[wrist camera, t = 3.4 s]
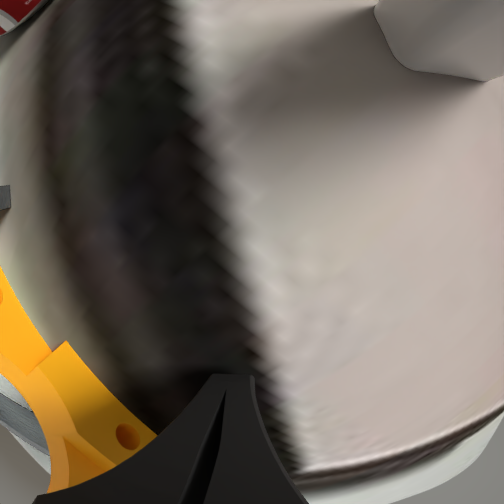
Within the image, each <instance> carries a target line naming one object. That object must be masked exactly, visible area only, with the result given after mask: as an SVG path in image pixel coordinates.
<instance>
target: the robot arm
mask: <svg viewBox="0 0 504 504" xmlns="http://www.w3.org/2000/svg"><path fill="white" fill-rule="evenodd" d="M32 504H309V503H308V502H307V501H306V499H305V498H304V497H303V495H302V494H301V493H300V491H299V490H298V489H297V487H296V486H295V484H294V483H293V481H292V480H291V478H290V476H289V475H288V473H287V472H286V470H285V468H284V466H283V465H282V463H281V461H280V459H279V457H278V456H277V454H276V452H275V450H274V448H273V445H272V443H271V441H270V439H269V436H268V434H267V432H266V429H265V427H264V424H263V421H262V418H261V415H260V412H259V409H258V405H257V401H256V397H255V382H254V377H253V376H252V375H245V374H212V375H211V376H210V377H209V378H208V380H207V381H206V382H205V384H204V385H203V386H202V388H201V389H200V390H199V392H198V393H197V394H196V395H195V397H194V398H193V399H192V400H191V401H190V403H189V404H188V405H187V406H186V407H185V408H184V409H183V411H182V412H181V413H180V414H179V415H178V416H177V417H176V418H175V419H174V420H173V421H172V422H171V423H170V424H169V425H168V426H167V427H166V428H165V429H164V430H163V431H162V432H161V433H160V434H159V435H158V436H157V437H156V438H154V439H153V440H152V441H151V442H150V443H148V444H147V445H146V446H145V447H143V448H142V449H141V450H139V451H138V452H137V453H135V454H134V455H133V456H131V457H130V458H128V459H126V460H125V461H123V462H122V463H120V464H119V465H117V466H115V467H114V468H112V469H110V470H108V471H106V472H105V473H103V474H100V475H98V476H96V477H94V478H92V479H89V480H87V481H85V482H83V483H80V484H78V485H75V486H72V487H69V488H66V489H62V490H59V491H55V492H51V493H47V494H43V495H38V496H37V497H36V499H35V500H34V502H33V503H32Z"/></svg>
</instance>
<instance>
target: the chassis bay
mask: <svg viewBox="0 0 504 504" xmlns="http://www.w3.org/2000/svg"><path fill="white" fill-rule="evenodd" d="M10 207H11V204H10V185H6V186H0V210H3V209H6V208H10ZM0 424H1V425H3V426H4V427H5V428H7V429H8V430H9V431H11V432H12V433H14V434H15V435H16V436H18V437H19V438H21V439H22V440H24V441H25V442H27V443H28V444H30V445H32V446H33V447H35V448H36V449H38V450H40V451H41V452H43V453H45V454H47V455H48V456H50V454H49V449H48V445H47V441H46V438H45V435H44V433H43V430H42V428H41V426H40V424H39V421H38V419H37V418H36V416H35V414H34V413H33V412H31V411H29V410H27V409H25V408H24V407H22V406H20V405H19V404H17V403H15V402H13V401H12V400H10V399H9V398H7V397H5V396H4V395H2V394H1V393H0Z"/></svg>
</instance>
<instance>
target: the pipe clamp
mask: <svg viewBox="0 0 504 504" xmlns="http://www.w3.org/2000/svg"><path fill="white" fill-rule="evenodd" d="M0 373H1V374H2V375H3V376H4V377H5V378H7V379H8V380H9V381H10V382H11V383H12V384H13V385H14V387H15V388H16V389H17V390H18V391H19V392H20V393H21V395H22V396H23V397H24V399H25V400H26V401H27V403H28V404H29V406H30V407H31V409H32V410H33V412H34V414H35V416H36V418H37V419H38V421H39V424H40V426H41V428H42V430H43V433H44V435H45V438H46V441H47V445H48V449H49V454H50V460H51V480H50V485H49V489H48V492H47V493H51V492H55V491H59V490H62V489H66V488H69V487H72V486H75V485H78V484H80V483H83V482H85V481H87V480H89V479H92V478H94V477H96V476H98V475H100V474H103V473H105V472H106V471H108V470H110V469H112V468H114V467H115V466H117V465H119V464H120V463H122V462H123V461H125V460H126V459H128V458H130V457H131V456H133V455H134V454H135V453H137V452H138V451H139V450H141V449H142V448H143V447H145V446H146V445H147V444H148V443H150V442H151V441H152V440H153V439H154V438H156V437H157V436H158V435H156V434H155V433H154V432H153V431H152V430H150V429H149V428H148V427H147V426H146V425H145V424H143V423H142V422H141V421H140V420H139V419H138V418H137V417H136V416H134V415H133V414H132V413H131V412H130V411H129V410H128V409H127V408H126V407H125V406H124V405H123V404H122V403H121V402H120V401H119V400H118V399H117V398H116V397H115V396H114V395H113V394H112V393H111V392H110V391H109V390H108V389H107V388H106V387H105V386H104V385H103V384H102V383H101V382H100V381H99V380H98V378H97V377H96V376H95V375H94V374H93V373H92V372H91V371H90V369H89V368H88V367H87V366H86V365H85V364H84V362H83V361H82V360H81V359H80V357H79V356H78V355H77V354H76V353H75V351H74V350H73V349H72V347H71V346H70V345H69V344H68V342H67V341H65V342H64V343H63V344H62V345H60V346H59V347H58V348H57V349H56V350H55V351H54V352H52V351H51V349H50V348H49V347H48V345H47V344H46V343H45V341H44V340H43V338H42V337H41V336H40V334H39V333H38V331H37V330H36V328H35V327H34V325H33V324H32V322H31V321H30V319H29V317H28V316H27V314H26V313H25V311H24V309H23V308H22V306H21V304H20V303H19V301H18V299H17V297H16V296H15V294H14V292H13V290H12V288H11V286H10V285H9V283H8V281H7V279H6V277H5V275H4V273H3V271H2V269H1V267H0Z"/></svg>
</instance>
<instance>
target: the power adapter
mask: <svg viewBox="0 0 504 504" xmlns="http://www.w3.org/2000/svg"><path fill="white" fill-rule="evenodd" d="M374 16H375V18H376V20H377V22H378V24H379V26H380V28H381V30H382V32H383V34H384V36H385V38H386V41H387V43H388V45H389V47H390V50H391V52H392V54H393V55H394V57H395V58H396V59H397V60H398V61H399V62H400V63H401V64H402V65H403V66H405V67H406V68H409V69H411V70H414V71H420V72H430V73H438V74H446V75H452V76H458V77H464V78H469V79H474V80H479V81H483V82H486V81H489V80H492V79H495V78H497V77H500V76H503V75H504V0H379V1H378V3H377V4H376V6H375V8H374Z"/></svg>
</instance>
